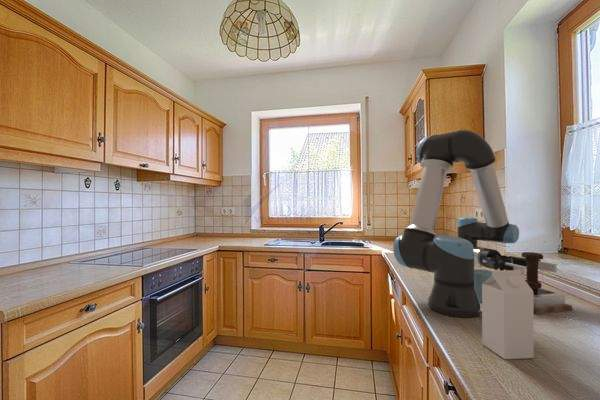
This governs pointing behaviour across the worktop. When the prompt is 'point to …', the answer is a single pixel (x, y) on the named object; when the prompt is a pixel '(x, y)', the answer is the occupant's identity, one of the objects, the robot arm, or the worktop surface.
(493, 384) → the worktop surface
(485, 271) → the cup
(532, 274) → the bolt
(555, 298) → the hinge base
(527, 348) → the milk carton
